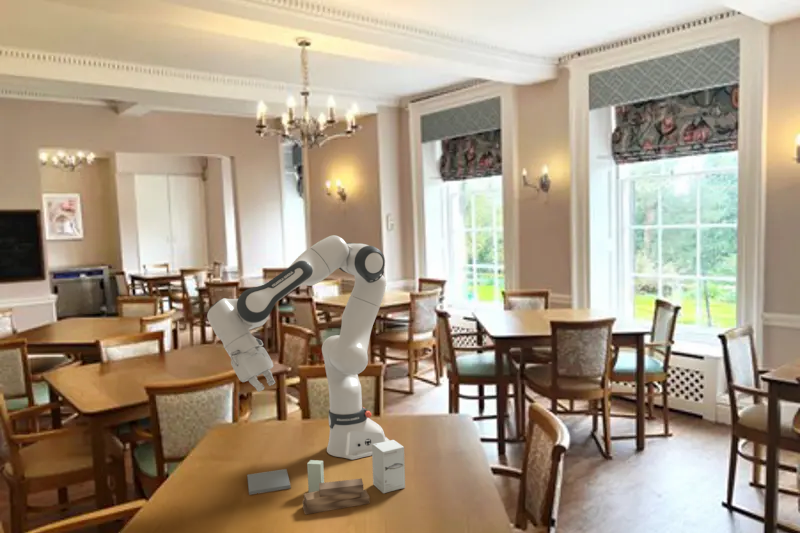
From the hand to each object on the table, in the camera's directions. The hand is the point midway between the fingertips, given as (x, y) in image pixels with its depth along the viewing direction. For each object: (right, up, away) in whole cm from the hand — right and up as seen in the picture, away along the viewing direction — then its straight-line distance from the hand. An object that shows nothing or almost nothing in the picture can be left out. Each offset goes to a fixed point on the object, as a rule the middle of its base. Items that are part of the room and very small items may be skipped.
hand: (267, 387), depth 175 cm
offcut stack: (+22, -30, -13) cm, 39 cm away
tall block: (+15, -30, -4) cm, 34 cm away
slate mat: (0, -30, +3) cm, 30 cm away
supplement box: (+37, -29, -2) cm, 47 cm away
